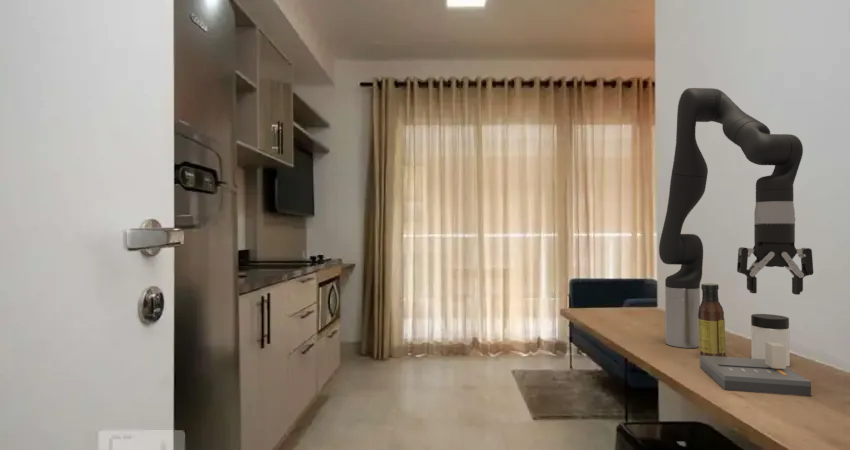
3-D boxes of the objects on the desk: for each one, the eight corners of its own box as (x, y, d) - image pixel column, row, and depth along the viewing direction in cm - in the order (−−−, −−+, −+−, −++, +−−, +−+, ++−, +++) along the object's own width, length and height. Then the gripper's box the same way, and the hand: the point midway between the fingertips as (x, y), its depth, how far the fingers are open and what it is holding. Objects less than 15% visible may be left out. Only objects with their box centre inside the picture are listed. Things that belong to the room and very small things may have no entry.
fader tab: (765, 369, 114) (765, 341, 114) (778, 370, 114) (777, 342, 114) (772, 374, 110) (772, 345, 111) (786, 374, 110) (785, 346, 110)
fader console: (700, 367, 124) (700, 354, 124) (773, 372, 120) (773, 359, 120) (724, 389, 107) (724, 375, 107) (811, 396, 103) (811, 381, 103)
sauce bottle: (719, 354, 137) (718, 282, 137) (730, 360, 131) (730, 285, 131) (694, 354, 138) (693, 282, 138) (704, 359, 131) (704, 284, 132)
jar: (797, 364, 127) (797, 317, 127) (781, 368, 123) (780, 320, 123) (759, 356, 135) (759, 312, 135) (743, 360, 131) (743, 315, 131)
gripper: (802, 222, 114) (802, 292, 114) (733, 222, 118) (733, 290, 118) (819, 222, 107) (819, 297, 107) (745, 221, 111) (745, 294, 111)
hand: (774, 293), depth 113 cm, fingers open, 8 cm apart
